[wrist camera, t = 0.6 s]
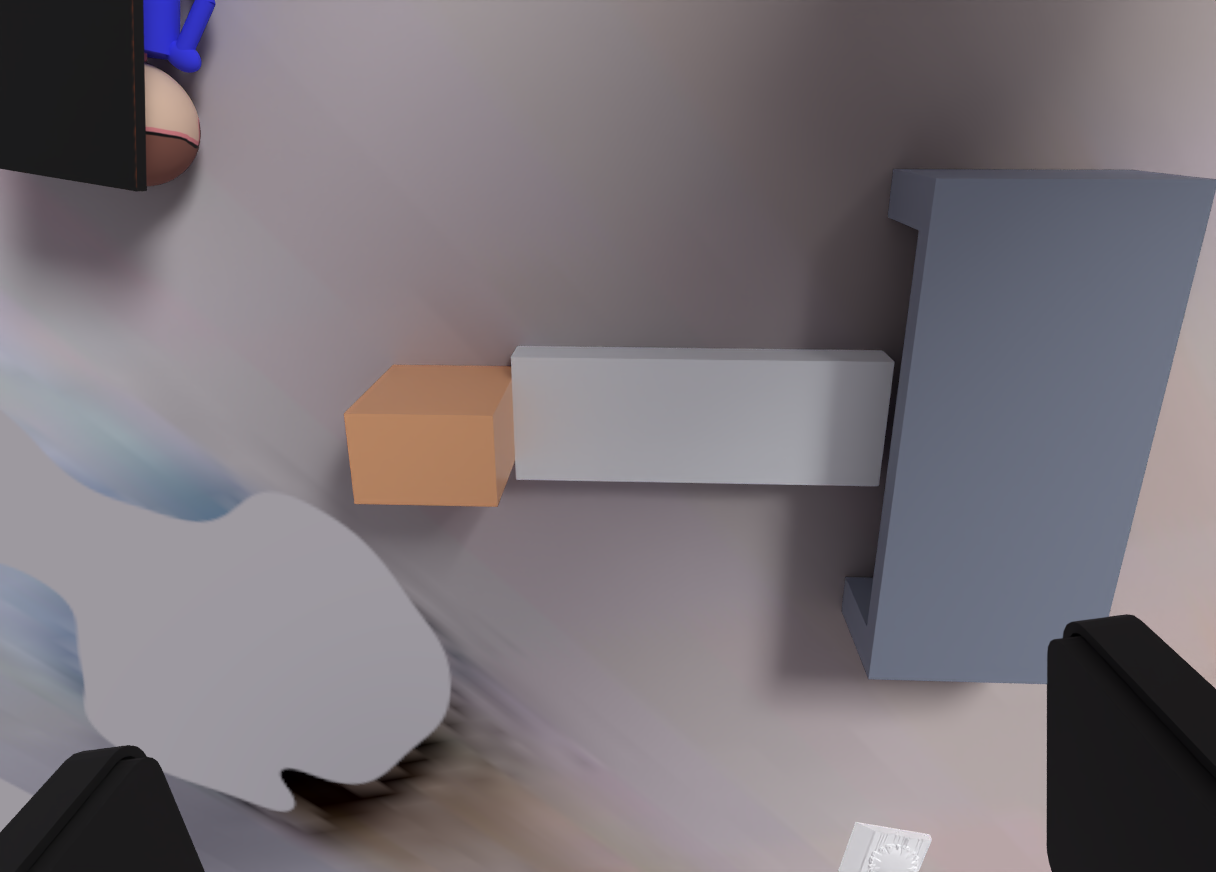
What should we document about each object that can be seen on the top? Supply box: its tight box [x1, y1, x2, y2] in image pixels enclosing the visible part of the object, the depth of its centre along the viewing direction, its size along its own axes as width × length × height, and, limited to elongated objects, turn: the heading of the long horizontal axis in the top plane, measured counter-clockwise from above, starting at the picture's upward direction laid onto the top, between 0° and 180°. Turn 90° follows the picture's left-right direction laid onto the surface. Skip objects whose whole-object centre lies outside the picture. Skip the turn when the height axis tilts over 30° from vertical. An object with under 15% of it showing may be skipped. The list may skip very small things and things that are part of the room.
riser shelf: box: [842, 169, 1216, 684], centre depth 37 cm, size 22×10×6 cm, turn 0°
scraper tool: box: [344, 346, 895, 507], centre depth 37 cm, size 6×23×7 cm, turn 90°
